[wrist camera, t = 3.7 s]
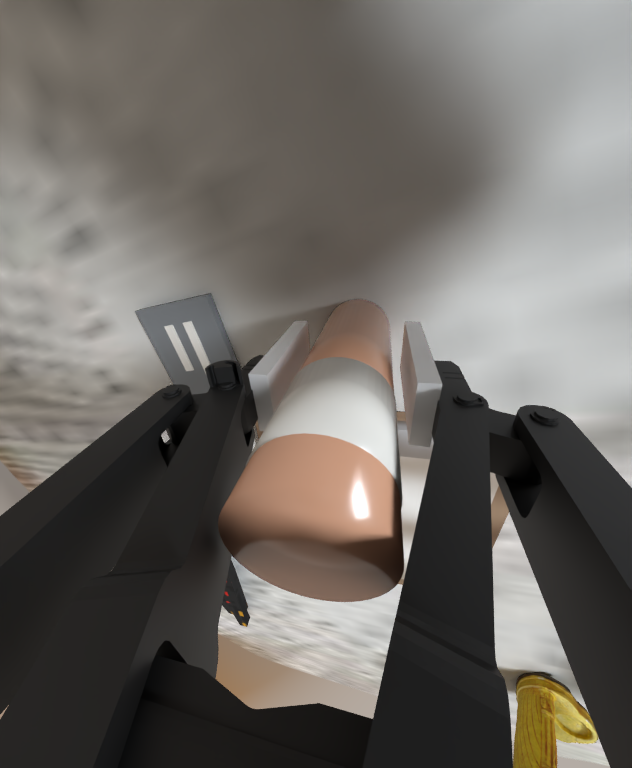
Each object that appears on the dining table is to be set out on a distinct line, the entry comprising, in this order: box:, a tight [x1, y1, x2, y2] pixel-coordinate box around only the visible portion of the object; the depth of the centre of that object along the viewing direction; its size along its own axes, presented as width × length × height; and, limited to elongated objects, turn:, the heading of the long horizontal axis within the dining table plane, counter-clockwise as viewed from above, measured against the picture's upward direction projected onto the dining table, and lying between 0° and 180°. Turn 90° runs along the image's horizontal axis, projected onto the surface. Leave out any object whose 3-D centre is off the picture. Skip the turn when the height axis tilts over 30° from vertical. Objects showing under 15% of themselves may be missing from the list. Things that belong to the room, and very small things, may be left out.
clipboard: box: [255, 412, 509, 585], centre depth 25 cm, size 22×20×2 cm
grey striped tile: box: [135, 293, 237, 395], centre depth 21 cm, size 8×6×1 cm
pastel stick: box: [218, 299, 404, 602], centre depth 12 cm, size 4×4×14 cm
